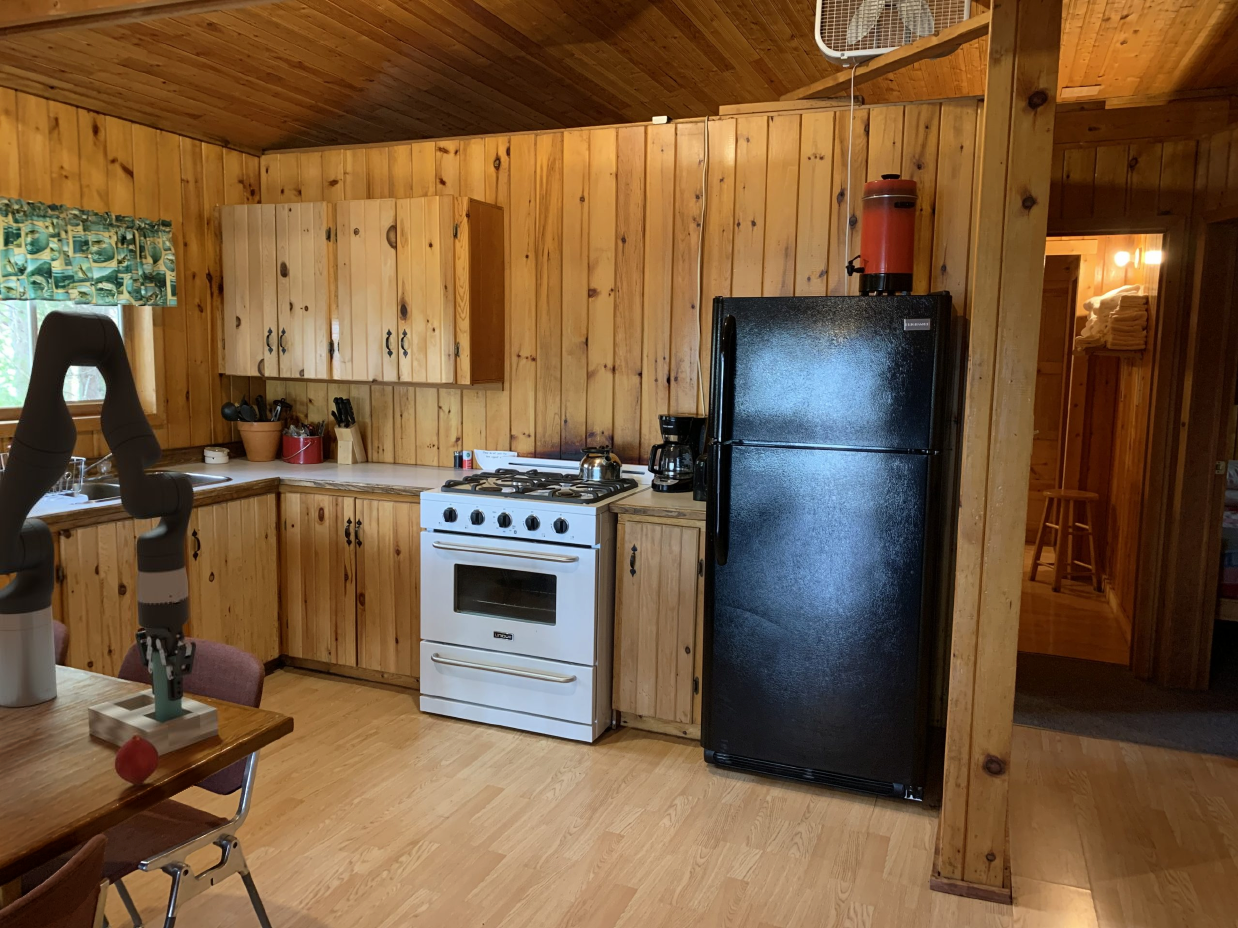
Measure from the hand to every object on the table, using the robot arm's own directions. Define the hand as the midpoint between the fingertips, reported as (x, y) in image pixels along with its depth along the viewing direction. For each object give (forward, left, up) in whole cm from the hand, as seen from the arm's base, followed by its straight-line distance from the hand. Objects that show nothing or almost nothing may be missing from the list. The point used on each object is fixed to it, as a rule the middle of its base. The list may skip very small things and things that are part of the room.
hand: (167, 696), depth 156 cm
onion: (+11, -12, -8) cm, 18 cm away
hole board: (-5, 0, -8) cm, 9 cm away
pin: (0, 0, -4) cm, 4 cm away
